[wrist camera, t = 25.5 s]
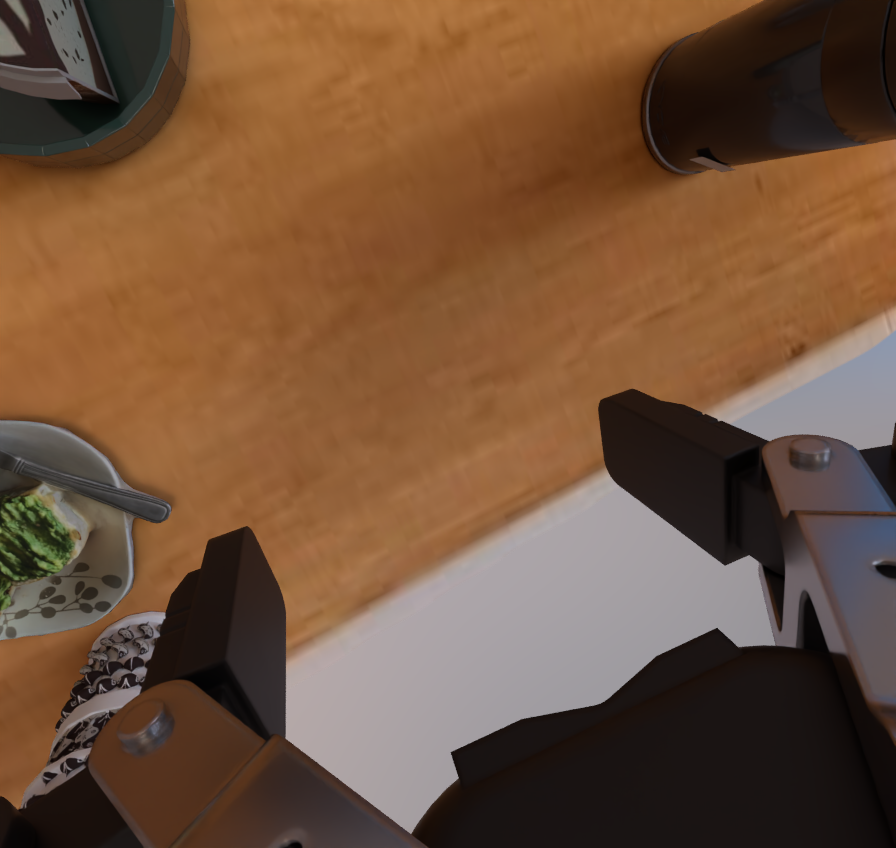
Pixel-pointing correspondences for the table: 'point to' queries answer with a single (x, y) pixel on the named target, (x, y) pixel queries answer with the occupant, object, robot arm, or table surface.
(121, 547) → the salad plate
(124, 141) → the bowl
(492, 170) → the table surface
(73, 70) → the food container
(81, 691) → the decorative candle
